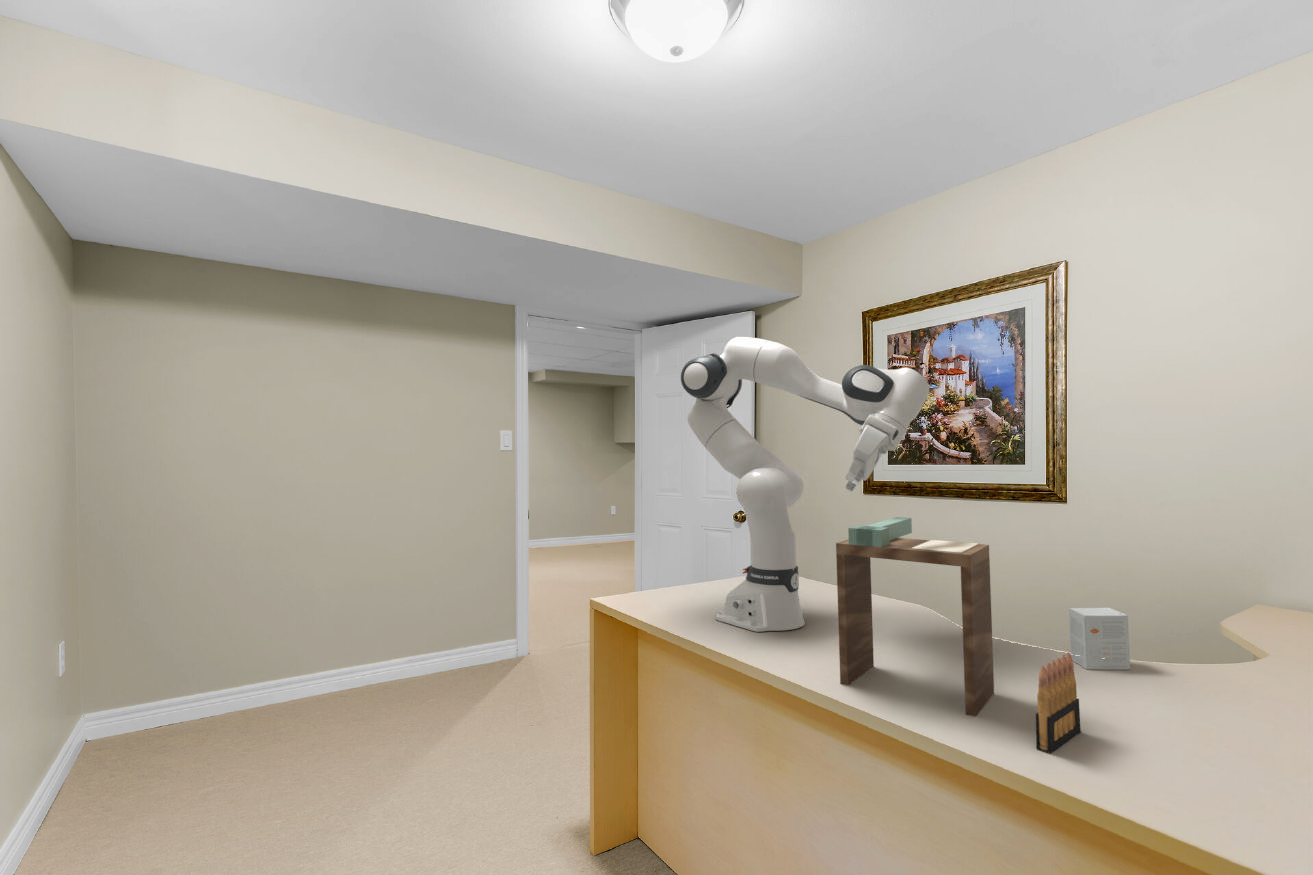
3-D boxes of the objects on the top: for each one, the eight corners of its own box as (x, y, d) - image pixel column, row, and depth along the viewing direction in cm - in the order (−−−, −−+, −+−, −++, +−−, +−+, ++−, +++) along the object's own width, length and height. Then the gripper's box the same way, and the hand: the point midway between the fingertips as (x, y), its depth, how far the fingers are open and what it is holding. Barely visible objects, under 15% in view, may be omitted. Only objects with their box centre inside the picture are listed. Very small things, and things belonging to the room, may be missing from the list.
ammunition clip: (1050, 754, 87) (1047, 668, 87) (1035, 749, 89) (1032, 665, 89) (1081, 732, 93) (1078, 652, 93) (1067, 727, 95) (1064, 649, 95)
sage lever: (848, 544, 113) (848, 527, 113) (889, 531, 128) (889, 516, 128) (881, 547, 109) (880, 530, 109) (919, 533, 124) (919, 518, 124)
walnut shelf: (840, 683, 114) (835, 542, 115) (866, 665, 123) (862, 534, 124) (975, 716, 99) (970, 553, 100) (994, 693, 108) (989, 543, 109)
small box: (1112, 660, 123) (1110, 607, 123) (1131, 670, 117) (1129, 614, 117) (1069, 659, 124) (1067, 607, 124) (1086, 670, 118) (1084, 614, 118)
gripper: (866, 440, 149) (836, 488, 148) (869, 412, 131) (835, 466, 129) (891, 453, 147) (860, 502, 145) (897, 426, 128) (862, 481, 127)
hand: (848, 484), depth 137 cm, fingers open, 8 cm apart
